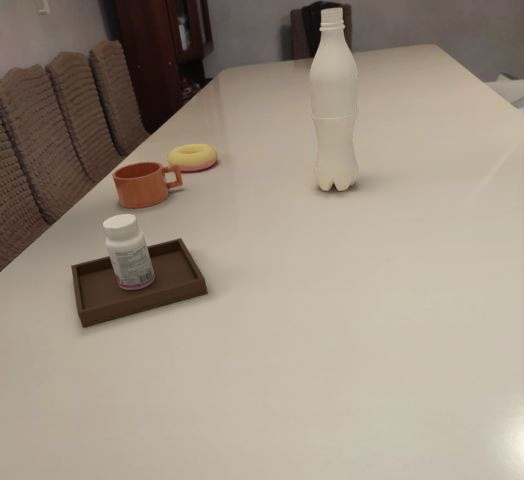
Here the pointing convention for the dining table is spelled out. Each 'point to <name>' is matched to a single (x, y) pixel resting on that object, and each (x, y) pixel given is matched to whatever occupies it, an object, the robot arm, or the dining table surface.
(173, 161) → the donut
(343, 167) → the water bottle
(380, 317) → the dining table surface
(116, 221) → the pill bottle
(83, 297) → the tray
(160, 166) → the mug
